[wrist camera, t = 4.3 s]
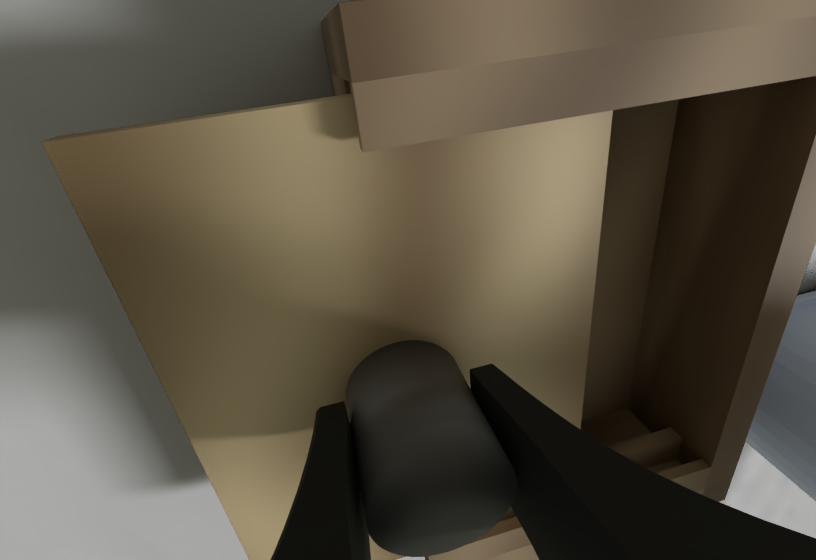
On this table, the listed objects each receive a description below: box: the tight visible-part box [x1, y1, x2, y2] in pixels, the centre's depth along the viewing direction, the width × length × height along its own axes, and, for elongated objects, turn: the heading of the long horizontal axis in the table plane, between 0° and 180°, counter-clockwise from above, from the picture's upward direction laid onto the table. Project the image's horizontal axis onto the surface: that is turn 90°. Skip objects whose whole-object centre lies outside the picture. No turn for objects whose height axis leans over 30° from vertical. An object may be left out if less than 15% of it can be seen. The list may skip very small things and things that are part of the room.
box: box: [321, 0, 816, 560], centre depth 15 cm, size 12×18×5 cm, turn 7°
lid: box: [42, 94, 613, 560], centre depth 11 cm, size 11×15×4 cm
